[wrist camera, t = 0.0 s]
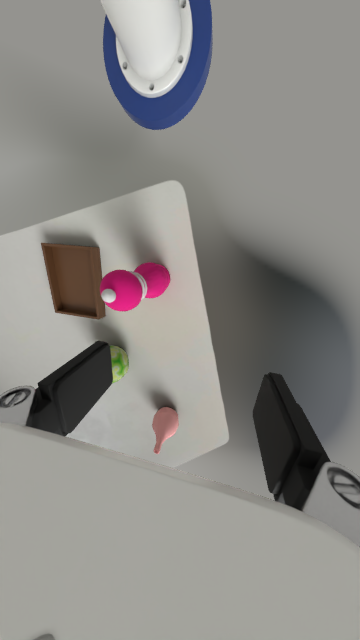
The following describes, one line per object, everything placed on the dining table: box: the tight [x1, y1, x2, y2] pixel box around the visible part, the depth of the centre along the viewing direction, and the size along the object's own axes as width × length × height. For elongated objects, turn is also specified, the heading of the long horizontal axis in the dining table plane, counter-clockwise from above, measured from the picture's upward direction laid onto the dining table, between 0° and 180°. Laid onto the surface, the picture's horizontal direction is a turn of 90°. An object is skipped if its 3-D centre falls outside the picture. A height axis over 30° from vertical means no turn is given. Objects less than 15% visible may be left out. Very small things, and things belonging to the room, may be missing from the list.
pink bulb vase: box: [152, 407, 179, 454], centre depth 48 cm, size 8×8×12 cm
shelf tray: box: [41, 243, 106, 319], centre depth 43 cm, size 17×13×3 cm
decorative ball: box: [110, 346, 129, 383], centre depth 45 cm, size 10×10×10 cm
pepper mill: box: [100, 262, 170, 311], centre depth 30 cm, size 7×7×20 cm
